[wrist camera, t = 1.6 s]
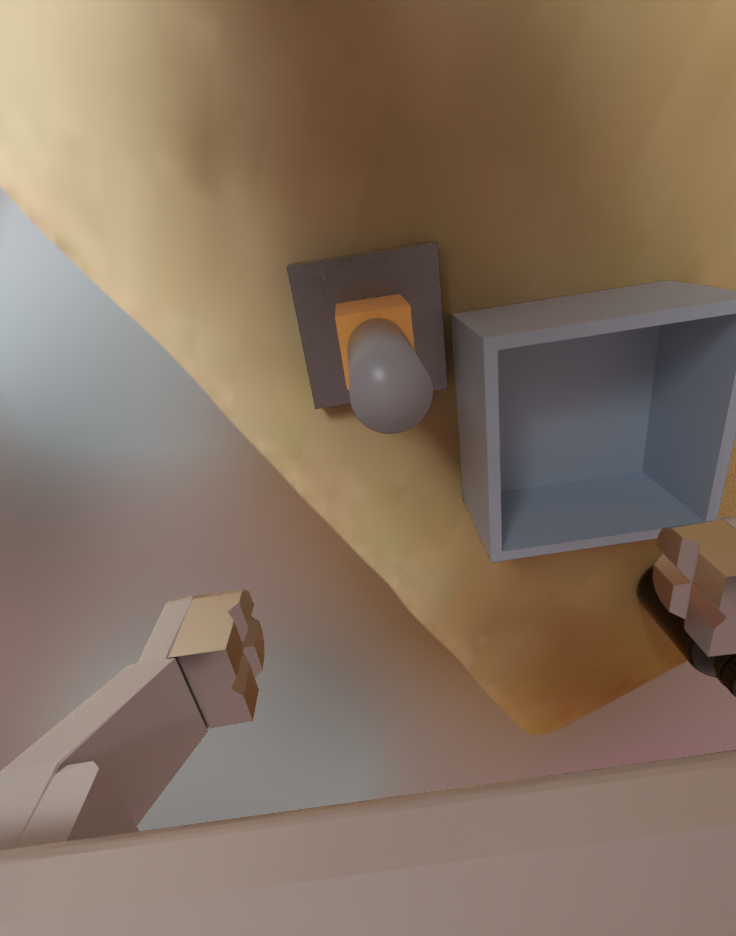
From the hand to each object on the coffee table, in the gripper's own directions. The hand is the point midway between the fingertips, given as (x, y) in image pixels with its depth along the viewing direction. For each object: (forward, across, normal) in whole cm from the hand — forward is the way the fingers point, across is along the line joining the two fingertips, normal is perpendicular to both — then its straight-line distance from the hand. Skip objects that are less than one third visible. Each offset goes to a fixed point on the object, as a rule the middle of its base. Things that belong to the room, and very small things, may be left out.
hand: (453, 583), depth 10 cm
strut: (+27, 0, 0) cm, 27 cm away
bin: (+29, -14, +8) cm, 33 cm away
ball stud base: (+29, 0, 0) cm, 29 cm away
